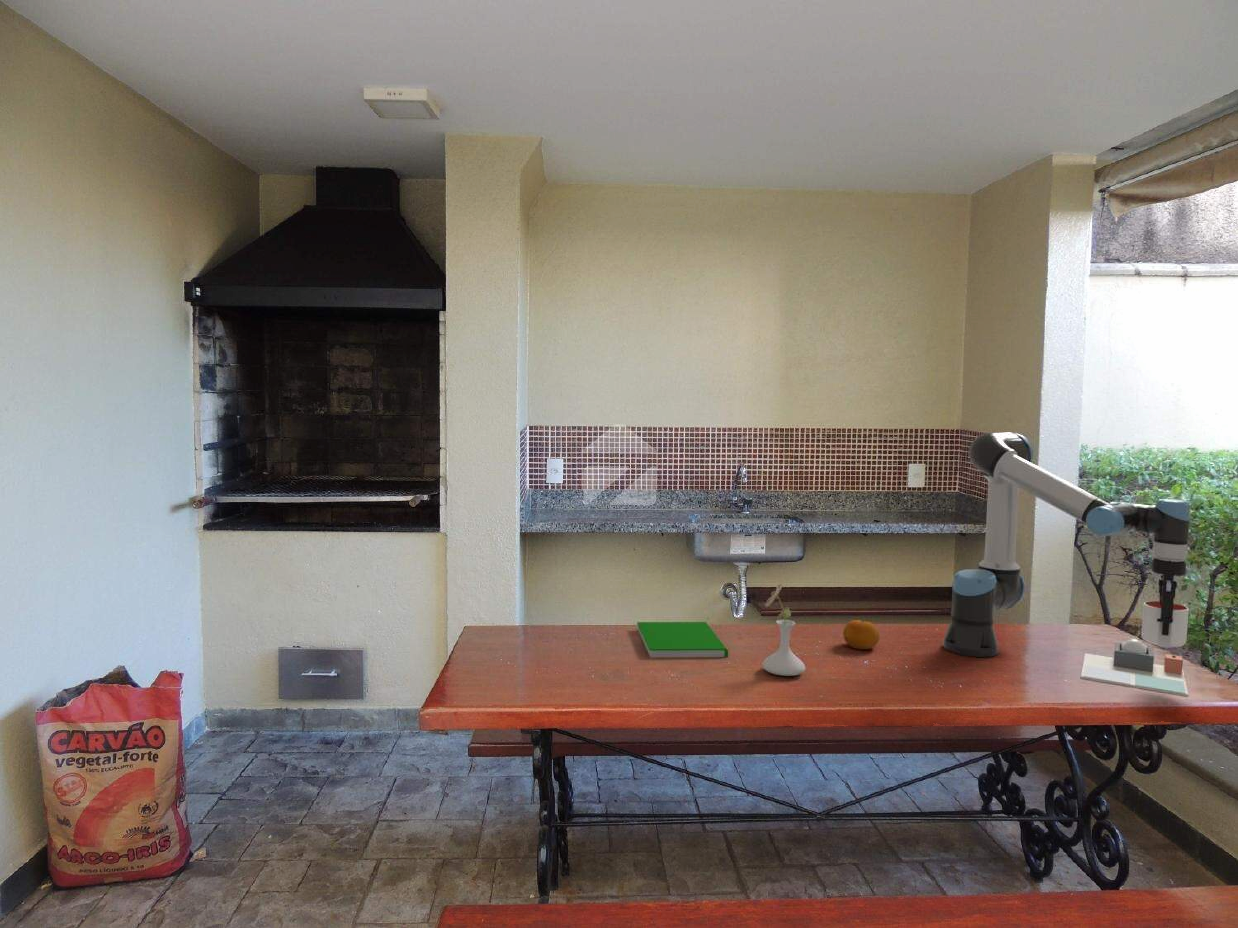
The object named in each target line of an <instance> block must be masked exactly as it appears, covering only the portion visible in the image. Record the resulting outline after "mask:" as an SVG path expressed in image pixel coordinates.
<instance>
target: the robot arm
mask: <svg viewBox="0 0 1238 928" xmlns="http://www.w3.org/2000/svg"><path fill="white" fill-rule="evenodd" d="M1033 448H1034V447H1033V446H1032V443H1031V442H1030V440H1028V438H1027V437H1026V436H1024V435H1022V434H1020V433H1016V432H1011V431H1006V432H1004V431H1001V432H985V433H982V434H980V435H978V436H977V437H975V438H974V440H973V441H972V442H971V444H970V446H969V448H968V449H969V450H968V456H969V460H970V461H971V464H972V465H973V466H974V467H975V468H976V469H978V470H979V471H980V472H982V473H983V476H982V477H984V478H985V479H986V480H987V482H988V485H987V502H986V503H987V504H986V505H987V507H986V521H985V522H986V523H985V541H984V556H983V557H984V558H983V559H982V560H981V561H980V562H979V563H978V568H971V569H969V568H967V569H963V570H959V571H957V572H956V573H955V574H954V576H953V582H952V594H951V595H952V596H951V617H950V623H949V626H948V628H947V630H946V632H945V635H944V637H943V643H942V645H943V646H942V647H943V648H944V649H945V650H946V651H949V652H951V653H953V654H958V655H961V656H969V657H975V658H976V657H977V658H990V657H995V656H997V655H999V643H998V640H997V637H996V636H997V635H996V632H995V630H994V619H995V618H994V615H995V612H997V611H1001V610H1007V609H1010V608H1013V607H1014V606H1016V605H1018V604H1019V603H1021V601H1022V600H1023V599H1024V596H1025V594H1026V587H1027V586H1026V582H1025V579H1024V578H1023V577H1022V575H1021V566H1020V565H1019V564H1018V563H1017V562H1016V548H1017V547H1016V546H1017V530H1018V511H1019V497H1020V489H1021V490H1022V491H1025V492H1027V493H1029V494H1031V495H1032V496H1034V497H1036V498H1037V499H1040V500H1041V501H1042V502H1045V503H1047V504H1049V506H1052V507H1054V508H1056V509H1058V510H1060V511H1062V512H1063V513H1065V514H1067V515H1069V516H1070V517H1072V518H1074V519H1077V521H1080V522H1082V523H1084V524H1085V525H1086V527H1087V528H1088V529H1089V530H1090V531H1089V532H1092V534H1095V535H1097V536H1104V537H1110V536H1115V535H1119V534H1124V533H1129V532H1132V533H1135V532H1136V533H1142V534H1143V533H1144V534H1150V535H1151V534H1152V535H1153V541H1152V553H1151V554H1152V556H1153V558H1152V559H1151V571H1152V572H1153V573H1154V574H1159V575H1160V578H1158V580H1157V581H1158V593H1159V600H1158V601H1160V605H1161V618H1160V619H1157V622H1159V635H1158V645H1157V647H1159V648H1165V649H1171V647H1170V644H1171V631H1172V622H1173V619H1172V618H1173V603H1174V602H1175V601H1174V599H1175V598H1176V590H1177V587H1178V582H1177V580H1175V578H1174V577H1175V576H1177V577H1182V576H1185V575H1186V574H1187V562H1186V561H1185V560H1186V559H1187V556H1188V552H1190V551H1191V548H1190V547H1188V543H1189V531H1190V524H1191V523H1190V522H1191V506H1190V505H1191V504H1190V503H1189V502H1188V501H1187V500H1186V501H1185V500H1181V499H1169V498H1159V499H1157V500H1156V502H1155V505H1147V504H1141V503H1139V504H1138V503H1131V502H1125V501H1111V502H1107V501H1105V500H1103V499H1101V498H1100V497H1098V496H1096V495H1094V494H1092V493H1089V492H1088V491H1086V490H1084V489H1082V488H1080V487H1078V486H1076V485H1075V484H1072V483H1070V482H1069V481H1067V480H1065V479H1063V478H1061V477H1059V476H1057V475H1055V474H1053V473H1052V472H1049V471H1047V470H1045V469H1044V468H1041V467H1040V466H1038V465H1036V464H1034V463H1032V461H1033V459H1034V449H1033ZM1164 616H1167V617H1164Z"/></svg>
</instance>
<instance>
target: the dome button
mask: <svg viewBox="0 0 1238 928" xmlns="http://www.w3.org/2000/svg"><path fill="white" fill-rule="evenodd" d="M1121 644H1122V651H1128V652H1135V653H1141V654H1146V651H1147V645H1146V644H1143V642H1142V641H1141V640H1139V639H1136V638H1132V639H1128V640H1126V641H1122V642H1121Z"/></svg>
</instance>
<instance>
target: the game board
mask: <svg viewBox="0 0 1238 928" xmlns="http://www.w3.org/2000/svg"><path fill="white" fill-rule="evenodd" d="M1163 663H1164V664H1163V665H1162V664H1155V663H1153V672H1147V671H1141V670H1134V669H1128V668H1122V667H1116V666H1113V664H1114V657H1110V656H1104V655H1097V654H1092V653H1087V652H1086V653H1084V658H1083V665H1082V670H1081V676H1080V678H1081V679H1085V680H1090V681H1095V682H1101V683H1109V684H1113V685H1118V686H1125V687H1131V688H1137V689H1143V690H1148V691H1154V692H1160V693H1164V694H1165V693H1167V694H1173V695H1179V696H1183V697H1188V696H1189V692H1188V688H1187V683H1186V678H1185V674H1184V669H1183V665H1184V664H1183V663H1184V659H1183V656H1181V655H1174V654H1173V655H1172V654H1167V653H1165V654H1164V662H1163Z"/></svg>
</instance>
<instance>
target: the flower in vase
mask: <svg viewBox="0 0 1238 928" xmlns="http://www.w3.org/2000/svg"><path fill="white" fill-rule="evenodd" d="M782 587H783V581H782V582H779V583H778V584H777V586H776V589H775V591H774V590H773V591H772V592H771V596H770V597H769V598H768V599H767V600H766V603H765V604H764V606H765V607H767V608H768V607H770V605H771V604H772V603H773V602H774V601H775V599H776V600H778V602H779V604H780V607H781V612H780V613H779V614H778V615H777V617H776V619H775V621H776V622H775V623H776V624H777V627H779V633H780V634H779V635H780V644H779V648H778V649H777V651H775V652H774V653H772V654H770V656H767V657H766V658H765V659H764V660H763V662H762V664H761V665H762V668H763V669H764V670H765V671H766V672H768V673H771V674H773V675H776V676H783V677H794V676H798V675H801V674H803V673H804V672H805V671H806V665H805V664H804V662H803V661H802V660H801V659H800V658H799V657H797V656H796V655H795V654H794V652H793V651H792V650H791V648H790V635H791V631H792V630H793V629H792V628H793V627H794V626H795V625H796V622H795V621H793V620H790V619H788V618H791V615H792V613H791V610H790V608H789V606H787V607H785V608H784V606H783V604H782V601H781V599H780V597H779V594H780V592H781V590H782ZM782 617H783V619H781V618H782Z"/></svg>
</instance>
